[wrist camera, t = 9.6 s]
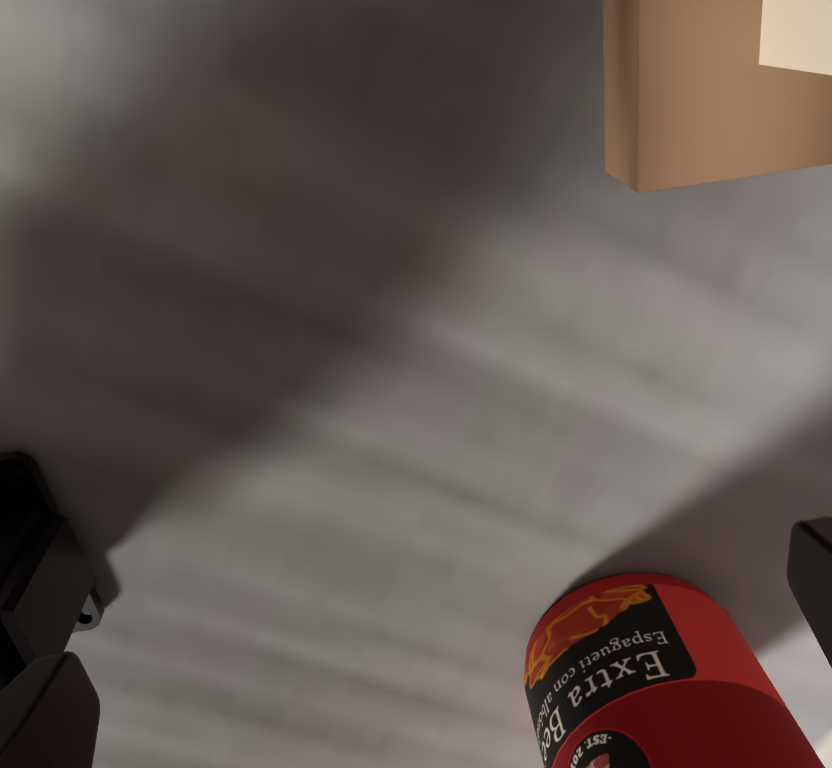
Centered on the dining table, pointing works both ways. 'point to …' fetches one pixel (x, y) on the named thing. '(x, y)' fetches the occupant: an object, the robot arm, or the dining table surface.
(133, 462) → the dining table surface
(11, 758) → the robot arm
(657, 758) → the canned food
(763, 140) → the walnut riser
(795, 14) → the cream block
